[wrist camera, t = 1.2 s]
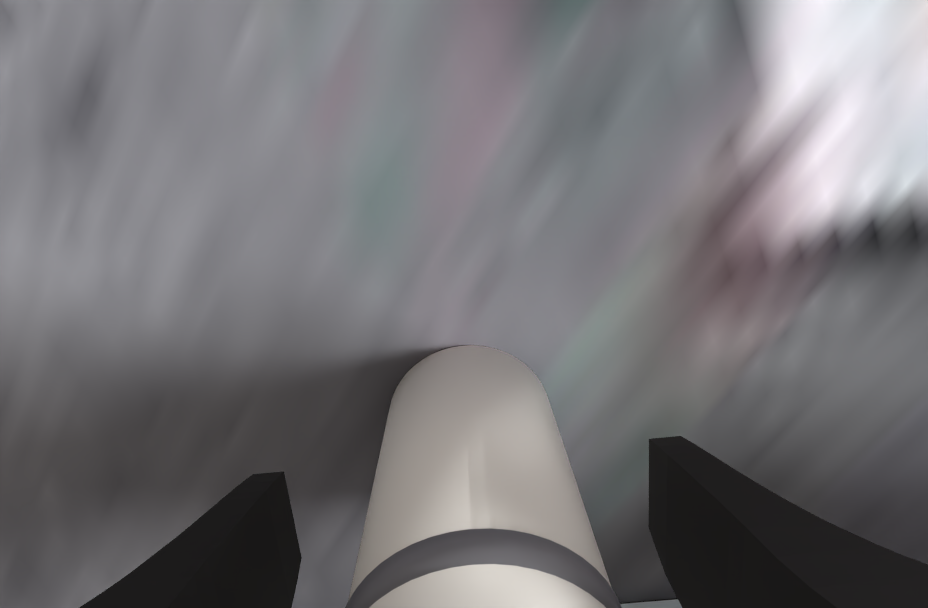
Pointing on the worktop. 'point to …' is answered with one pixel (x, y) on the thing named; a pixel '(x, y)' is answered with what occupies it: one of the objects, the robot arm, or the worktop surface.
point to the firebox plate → (654, 604)
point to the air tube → (476, 496)
